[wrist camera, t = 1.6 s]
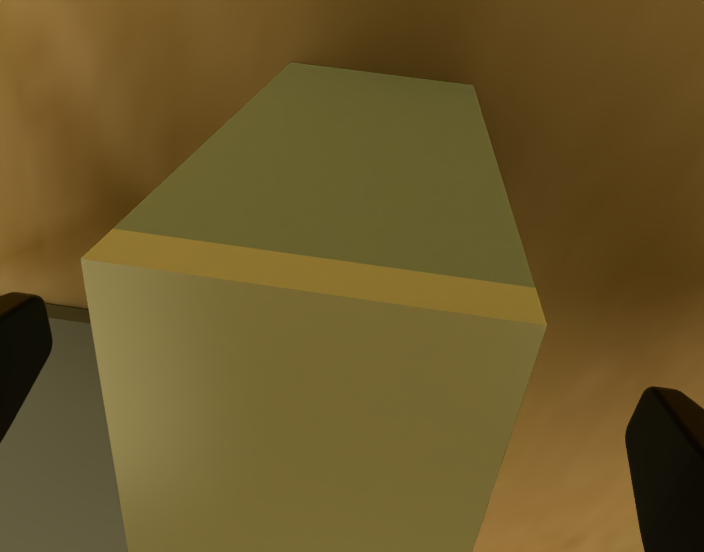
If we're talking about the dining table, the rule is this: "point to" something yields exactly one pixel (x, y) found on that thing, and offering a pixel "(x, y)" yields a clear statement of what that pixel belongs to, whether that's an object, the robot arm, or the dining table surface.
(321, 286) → the pale green block
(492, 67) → the dining table surface
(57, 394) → the mat
